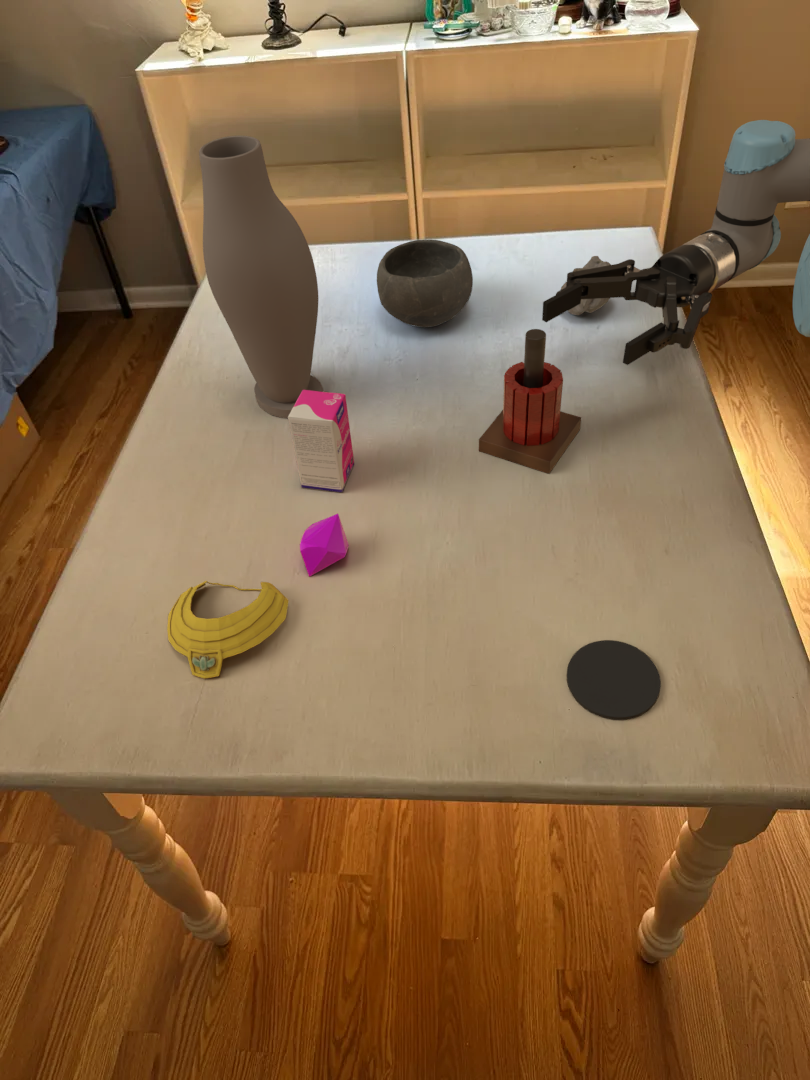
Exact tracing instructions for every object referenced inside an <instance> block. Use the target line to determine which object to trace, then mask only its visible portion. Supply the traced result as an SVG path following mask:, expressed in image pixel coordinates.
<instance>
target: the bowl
mask: <svg viewBox="0 0 810 1080" xmlns="http://www.w3.org/2000/svg"><path fill="white" fill-rule="evenodd" d="M473 285H474V277H473V270H472V266H471V262H470V261H469V259H468V256H467V254H466V253H465V251H464V250H463V249H462V248H461V247H460V246H458V245H455V244H454V243H450V242H446V241H444V240H439V239H415V240H410V241H407V242H404V243H401V244H398V245H396V246H394V247H392V248H390V249H388V251H386V252H385V254H384V255H383V256H382V258H381V259H380V261H379V264H378V267H377V270H376V287H377V294H378V299H379V301H380V304H381V306H382V307H383V309H384V310H385V311H386V312H387V313H388V314H389V315H390V316H392V317H393V318H395V319H396V320H398V321H400V322H401V323H404V324H406V325H409V326H412V327H416V328H417V327H418V328H432V327H436V326H437V327H438V326H440V325H441V324H445V323H446V322H448V321H450V320H452V319H453V318H455V317H456V316H457V315H458V314H460V313H461V312H462V310H463V309H464V308H465V307H466V305H467V303H468V301H469V299H470V297H471V294H472V291H473Z"/></svg>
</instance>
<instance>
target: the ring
mask: <svg viewBox="0 0 810 1080" xmlns="http://www.w3.org/2000/svg"><path fill="white" fill-rule="evenodd" d="M523 378H524V361H520V362H517V363H515V364H513V365H511V366H509V367H508V368H507V370H506V371H505V373H504V375H503V398H502V401H503V404H502V410H503V432H504V434H505V436H507V437H508V438H509V439H510V440H511V441H512V440H513V442H515V443H518V444H521V445H525V444H526V445H527V446H535V445H539V443H540V444H541V445H542V444H544V443H547V442H549V441H551V440H552V439H554V437H555V436H556V434H557V433H558V431H559V421H560V411H561V408H562V399H563V397H562V396H563V387H564V377H563V372H562V371H561V369H560V368H558V367H557V366H556V365H555V364H552V363H550V362H546V361H544V374H543V387H541V388H527V387H524V386H523Z"/></svg>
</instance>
